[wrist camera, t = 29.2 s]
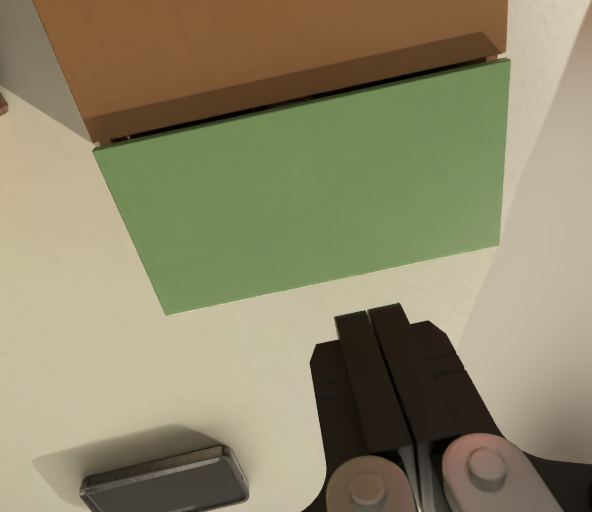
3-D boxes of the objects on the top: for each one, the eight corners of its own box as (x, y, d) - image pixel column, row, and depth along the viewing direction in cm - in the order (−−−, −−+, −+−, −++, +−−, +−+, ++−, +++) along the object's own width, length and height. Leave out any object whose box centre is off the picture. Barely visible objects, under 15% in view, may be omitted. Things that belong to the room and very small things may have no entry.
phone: (74, 489, 46) (228, 453, 45) (78, 479, 46) (229, 443, 46) (110, 534, 50) (252, 501, 49) (113, 523, 51) (252, 491, 50)
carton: (399, -163, 24) (519, -262, 14) (419, 157, 33) (500, 246, 23) (88, -92, 25) (-28, -135, 14) (189, 206, 33) (165, 317, 23)
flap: (506, 56, 18) (511, 59, 18) (495, 241, 23) (499, 246, 22) (94, 147, 18) (91, 151, 18) (166, 311, 23) (165, 316, 23)
